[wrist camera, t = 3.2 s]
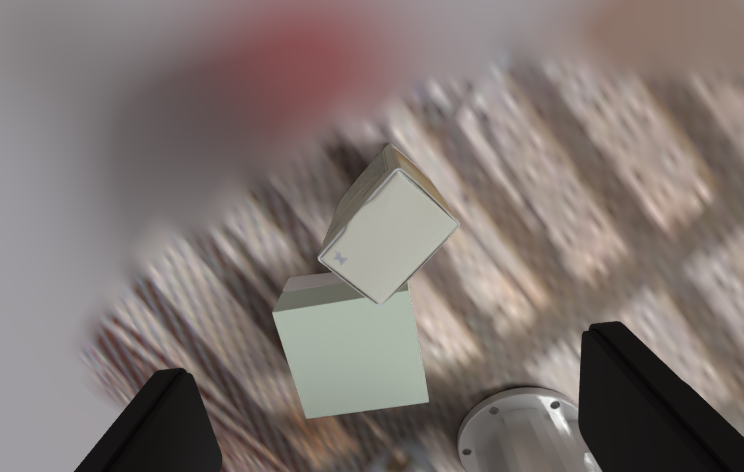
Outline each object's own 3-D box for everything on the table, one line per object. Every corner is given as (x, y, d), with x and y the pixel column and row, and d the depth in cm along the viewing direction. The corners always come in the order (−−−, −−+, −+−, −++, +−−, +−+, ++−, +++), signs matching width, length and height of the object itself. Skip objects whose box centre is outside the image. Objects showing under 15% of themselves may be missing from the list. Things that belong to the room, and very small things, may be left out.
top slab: (406, 272, 30) (408, 290, 27) (425, 376, 33) (429, 402, 31) (281, 292, 31) (271, 312, 28) (312, 392, 34) (306, 418, 32)
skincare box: (378, 235, 32) (376, 314, 20) (337, 200, 31) (310, 263, 19) (434, 175, 30) (466, 226, 18) (391, 137, 29) (397, 165, 18)
